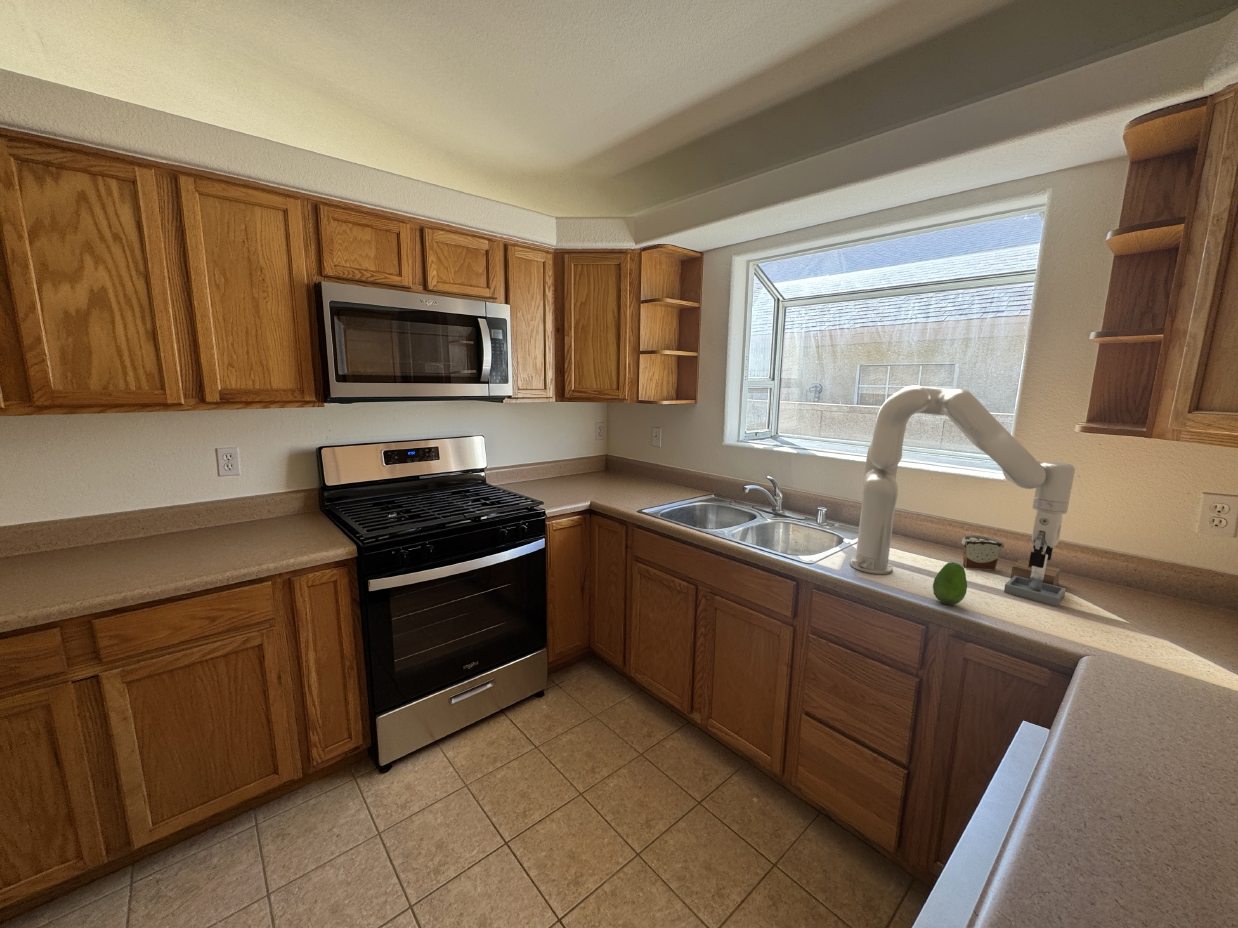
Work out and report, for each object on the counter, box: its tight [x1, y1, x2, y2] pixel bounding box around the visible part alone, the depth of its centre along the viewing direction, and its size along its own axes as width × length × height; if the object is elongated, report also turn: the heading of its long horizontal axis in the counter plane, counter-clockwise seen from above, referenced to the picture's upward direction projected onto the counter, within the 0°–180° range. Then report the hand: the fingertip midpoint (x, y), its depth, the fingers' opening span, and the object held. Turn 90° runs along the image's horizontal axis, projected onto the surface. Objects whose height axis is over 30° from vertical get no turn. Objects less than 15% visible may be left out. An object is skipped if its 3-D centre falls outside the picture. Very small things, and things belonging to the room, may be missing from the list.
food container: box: [961, 534, 1005, 571], centre depth 166 cm, size 12×6×10 cm, turn 84°
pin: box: [1028, 553, 1048, 593], centre depth 144 cm, size 3×3×12 cm
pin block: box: [1010, 558, 1062, 586], centre depth 154 cm, size 10×10×5 cm
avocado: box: [932, 562, 968, 605], centre depth 137 cm, size 8×8×12 cm
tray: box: [1003, 575, 1067, 608], centre depth 145 cm, size 11×12×2 cm
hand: (1039, 562), depth 143 cm, fingers open, 9 cm apart
